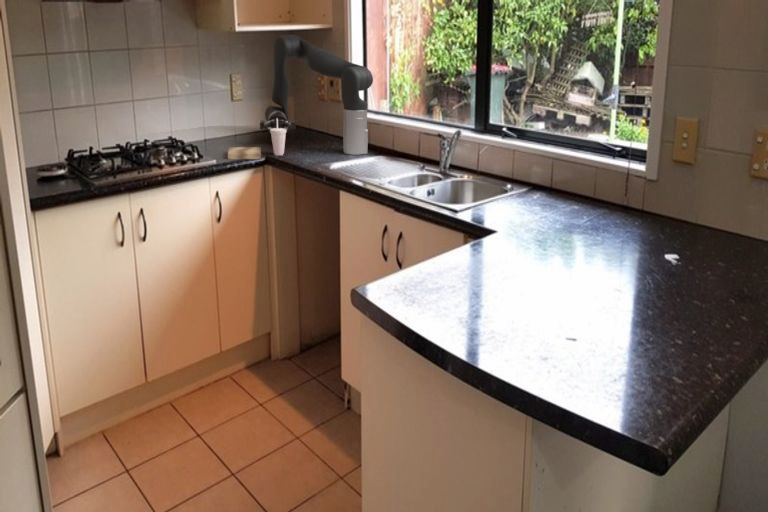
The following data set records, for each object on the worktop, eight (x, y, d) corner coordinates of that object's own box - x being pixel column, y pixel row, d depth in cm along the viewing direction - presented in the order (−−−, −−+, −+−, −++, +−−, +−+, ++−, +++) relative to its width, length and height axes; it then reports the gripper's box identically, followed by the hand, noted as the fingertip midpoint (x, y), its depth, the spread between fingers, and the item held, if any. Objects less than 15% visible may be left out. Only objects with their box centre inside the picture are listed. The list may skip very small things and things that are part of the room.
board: (260, 152, 279) (260, 146, 279) (260, 158, 268) (260, 153, 268) (229, 152, 278) (229, 146, 277) (228, 159, 266) (227, 153, 266)
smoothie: (267, 154, 275) (266, 118, 271) (277, 152, 281) (276, 116, 276) (280, 156, 273) (279, 120, 268) (290, 153, 278) (289, 117, 273)
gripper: (260, 112, 297) (259, 118, 282) (294, 112, 299) (295, 118, 284) (260, 130, 300) (260, 137, 285) (294, 130, 302) (295, 137, 287)
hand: (277, 128), depth 284 cm, fingers open, 8 cm apart
